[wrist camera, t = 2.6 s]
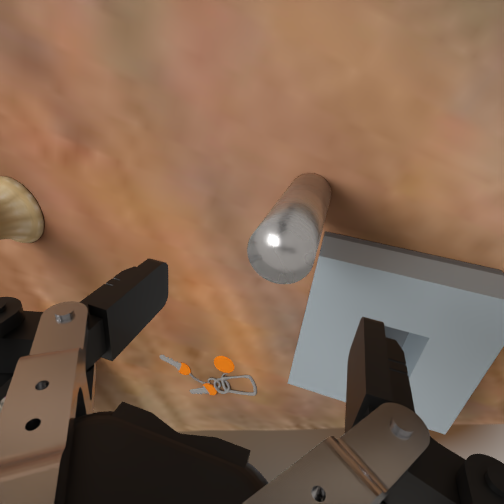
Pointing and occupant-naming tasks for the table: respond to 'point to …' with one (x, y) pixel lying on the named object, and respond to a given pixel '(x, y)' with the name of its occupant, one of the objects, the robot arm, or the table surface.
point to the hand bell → (19, 213)
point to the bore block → (402, 321)
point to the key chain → (223, 366)
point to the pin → (291, 231)
